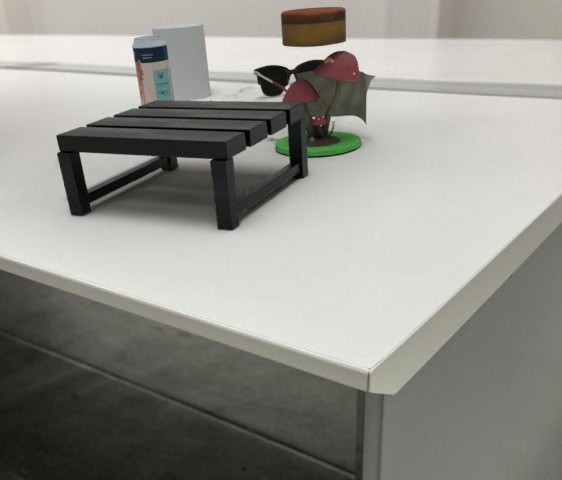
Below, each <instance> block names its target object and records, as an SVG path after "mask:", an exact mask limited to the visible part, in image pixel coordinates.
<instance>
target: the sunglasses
mask: <svg viewBox="0 0 562 480" xmlns="http://www.w3.org/2000/svg"><path fill="white" fill-rule="evenodd" d="M324 60H325V59H309V60H306V61H304V62H301V63H299V64H297V65H296V66H295V67H294V68H293V69H290V68H289V67H287V66H284V65H279V64H268V65H264V66H260V67H257V68H255V69H253V75H255V76H256V80H257V85H258V86H260V90H261V92H262V94H263V95H264V96H266V97H271V98H274V97H279V96H281V95H282V94H283V93H284V94H285V93H286V91H287V90H288V88H286V87H287V86H288V87H289V83H290V81H291V80H290V79H291V76H292V75H293V76H294V79H295V81H297V74H298V73H303V72H309V71H314V70H315V69H316V68H317V67H318V66H319V65H320V64H321V63H322V62H323V61H324Z"/></svg>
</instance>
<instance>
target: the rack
mask: <svg viewBox="0 0 562 480" xmlns="http://www.w3.org/2000/svg"><path fill="white" fill-rule="evenodd" d="M286 128H287V136H288V141H289V155H288V156H289V157H288V159H289V163H288V164H286V165H285V166H282V168H280V169H279V170H277V171H275V172H274V173H273V174H271V175H269V176H268V177H267V178H265V179H263V180H262V181H261V182H259V183H258V184H256V185H255V186H253V187H251V188H250V189H249V190H247V191H245V192H244V193H242V194H241V195H239V196H238V195H237V194H238V193H237V183H236V173H235V164H234V162H235V161H234V157H236V156H237V155H240V153H243V152H245V151H246V150H247V148H252V147H254V146H255V145H257V144H259V143H261V142H262V141H264V140H266V139H268V137H269V136H273V135H275V134H277V133H278V132H280V131H282V130H284V129H286ZM55 138H56V141H57V146H58V150H59V151H58V152H56V156H57V160H58V165H59V169H60V174H61V178H62V182H63V187H64V190H65V194H66V199H67V204H68V209H69V212H70V215H72V216H80V217H81V216H82V217H83V216H85V215H87V214H89V213H91V212H92V205H91V203H93V202H95V201H98V200H100V199H101V198H104V197H106V196H107V195H109V194H111V193H114V192H116V191H118V190H120V189H122V188H124V187H126V186H127V185H130V184H132V183H133V182H136V181H138V180H140V179H142V178H144V177H146V176H148V175H150V174H152V173H154V172H156V171H158V170H162V171H174V170H175V169H178V168H179V161H178V158H181V159H182V158H184V159H202V160H203V159H204V160H209V164H210V166H209V167H210V174H211V183H212V191H213V200H214V209H215V217H216V226H217V229H218V230H229V231H233V230H234V229H236V228H237V227H239V226H240V215H241V214H242V213H244V212H245V211H247V210H248V209H249V208H251V207H252V206H254V205H256V204H257V203H258V202H259V201H261V200H262V199H264V198H265V197H267V196H268V195H270V194H271V193H272V192H274V191H275V190H276V189H278V188H279V187H280V186H282V185H283V184H285V183H286V182H288V181H289V180H290V179H293V178H296V179H304V178H305V177H307V176H308V175H309V161H308V160H309V159H308V157H309V156H307V132H306V117H304V106H303V102H282V101H241V100H240V101H235V100H234V101H233V100H212V101H211V100H190V101H172V100H155V101H153V102H150V103H147V104H144V105H142V104H141V105H138V107H133V108H130V109H127V110H124V111H121V112H119V113H116V114H113V116H107V117H103V118H101V119H98V120H95V121H93V122H90V123H87V124H85V126H78V127H76V128H73V129H70V130H67V131H64V132H61V133H58V134H56V135H55ZM80 153H84V154H103V155H123V156H143V157H154V158H151V159H150V160H148V161H145V162H144V163H141V164H140V165H137V166H135V167H133V168H131V169H129V170H126V171H124V172H122V173H120V174H118V175H115V176H114V177H111V178H110V179H109V178H108V179H107V180H105V181H103V182H101V183H99V184H97V185H94V186H92V187H90V188H88V187H87V182H86V177H85V173H84V169H83V163H82V158H81V154H80Z"/></svg>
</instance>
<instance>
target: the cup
mask: <svg viewBox="0 0 562 480" xmlns="http://www.w3.org/2000/svg"><path fill="white" fill-rule="evenodd" d="M151 30H152V32H151V33H152V36H162V37H163V39H164V41H165V42H166V44H167V52H168V59H169V66H170V74H171V81H172V89H173V96H174V101H198V100H202V99H207V98H209V97H211V95H212V93H211V92H212V91H211V82H210V73H209V65H208V56H207V46H206V37H205V29H204V23H201V22H187V23H185V22H184V23H175V24H174V23H172V24H164V25H157V26H153V27H151ZM210 101H213V100H212V99H211V100H210Z"/></svg>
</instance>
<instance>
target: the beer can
mask: <svg viewBox="0 0 562 480" xmlns="http://www.w3.org/2000/svg"><path fill="white" fill-rule="evenodd" d="M131 48H132V52H133V53H132V54H133V59H134V67H135V72H136V79H137V86H138V90H139V96H140V103H141V105H144V104H147V103H150V102H153V101H155V100H172V101H174V96H173V89H172V81H171V74H170V66H169V59H168V52H167V44H166V42H165V41H164V39H163V37H162V36H153V35H144V36H139V37H138V36H137V37H134V38H133V42H132V45H131Z"/></svg>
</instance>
